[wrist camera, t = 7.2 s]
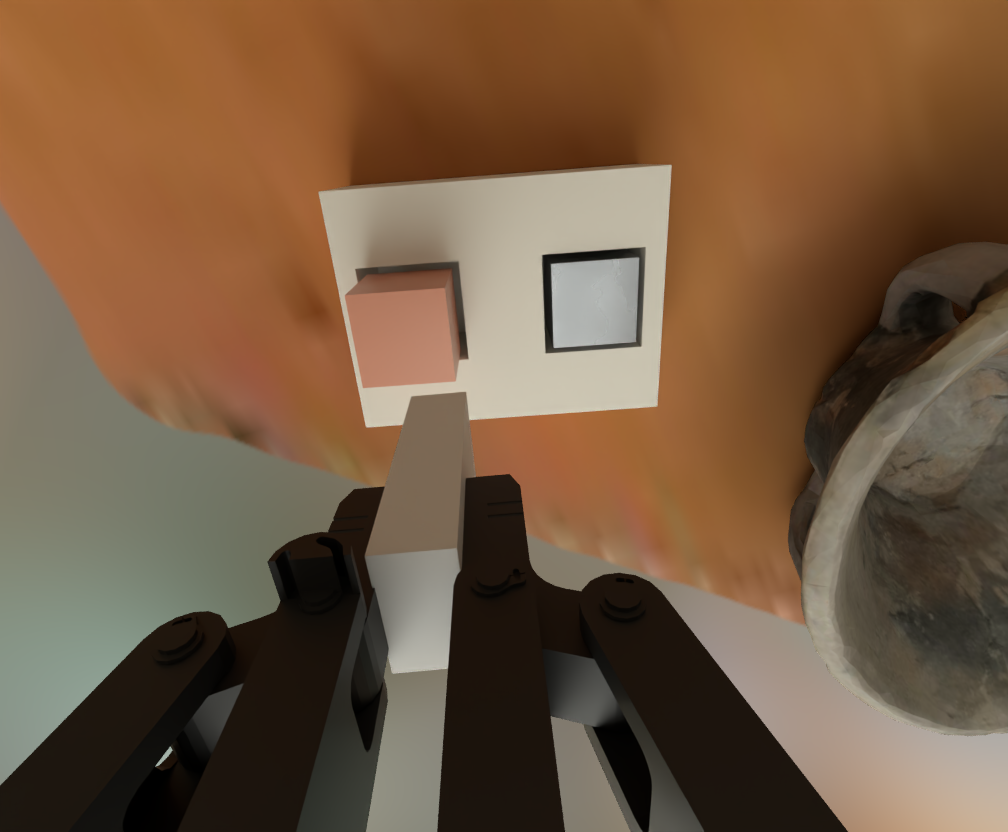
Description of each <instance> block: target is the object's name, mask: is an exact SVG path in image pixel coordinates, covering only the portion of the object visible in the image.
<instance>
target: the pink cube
mask: <svg viewBox="0 0 1008 832" xmlns="http://www.w3.org/2000/svg"><path fill="white" fill-rule="evenodd" d="M345 300H346V305H347V310H348V315H349V320H350V325H351V330H352V336H353V341H354V346H355V351H356V356H357V361H358V366H359V371H360V376H361V381H362V386H363V388H373V387H386V386H400V385H414V384H428V383H441V382H455V381H456V377H457V370H458V364H459V358H460V351H461V347H460V338H459V329H458V319H457V310H456V301H455V292H454V283H453V274H452V268H447V269H434V270H421V271H407V272H394V273H381V274H367V275H366V276H365V277H364V278H363V279H362V280H361V281H359V282H358V283H357V284H356V285H355V286H354V287H353V288H352V289H351V290H350V291H349V292H348V293H347V294H346V295H345Z"/></svg>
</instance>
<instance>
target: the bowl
mask: <svg viewBox="0 0 1008 832" xmlns="http://www.w3.org/2000/svg"><path fill="white" fill-rule="evenodd" d="M952 301H953V302H954V303H956V304H957V305H959V306H960V307H962V308H963V309H965V310H966V312H967V319H966V320H965V321H963V322H962V323H959V322H958V321H957V319H956V318H955V317H954V314H953V307H952ZM804 442H805V447H806V453H807V456H808V458H809V460H810V462H811V463H812V465H813V467H814V469H815V471H814V473H813V474H812V476H811V478H810V480H809V481H808V483H807V485H806V486H805V488H804V489H803V491H802V492H801V493H800V495H799V496H798V498H797V499H796V501H795V503H794V505H793V507H792V509H791V515H790V524H789V533H788V544H789V552H790V554H791V557H792V559H793V562H794V564H795V567H796V569H797V572H798V575H799V577H800V580H801V605H802V611H803V615H804V619H805V623H806V626H807V628H808V630H809V633H810V635H811V638H812V640H813V643H814V646H815V649H816V651H817V652H818V654H819V655H820V656H821V658H822V659H823V660H824V662H825V663H826V666H827V668H828V671H829V672H830V673H831V674H832V675H833V677H834V678H835V679H837V681H839V683H841V684H842V685H843V686H844V687H845V688H846V689H847V690H848V691H849V692H851V693H852V694H853V695H855V696H856V697H858V698H859V699H860V700H862V701H863V702H864V703H866V704H867V705H868V706H870V707H872V708H873V709H875V710H877V711H879V712H881V713H882V714H884V715H886V716H888V717H890V718H892V719H893V720H895V721H899V722H902V723H905V724H909V725H912V726H915V727H919V728H922V729H926V730H929V731H933V732H937V733H941V734H944V735H964V736H976V735H987V734H991V733H1008V245H1007V244H999V243H992V242H972V243H958V244H955V245H952V246H949V247H946V248H944V249H941V250H938V251H935V252H932V253H929V254H926V255H923V256H921V257H919V258H917V259H915V260H914V261H912V262H910V263H908V264H907V265H905V266H903V268H902V269H901V270H900V272H899V273H898V274H897V275H896V277H895V278H894V279H893V281H892V283H891V284H890V286H889V288H888V289H887V293H886V298H885V302H884V306H883V311H882V314H881V317H880V320H879V323H878V326H877V327H876V328H875V329H874V330H873V331H872V332H871V333H870V334H869V335H868V336H867V337H866V338H865V339H864V340H863V341H862V343H861V344H860V345H859V346H858V347H857V349H856V350H855V352H854V354H853V355H852V356H851V357H850V358H849V359H848V360H847V361H846V362H845V363H844V364H843V365H842V366H841V367H840V368H839V369H838V370H837V371H836V372H835V373H834V374H833V375H832V377H831V378H830V379H829V380H828V382H827V383H826V385H825V386H824V388H823V392H822V396H821V399H820V400H819V401H818V402H816V404H815V406H814V408H813V410H812V412H811V414H810V417H809V419H808V422H807V425H806V430H805V438H804Z"/></svg>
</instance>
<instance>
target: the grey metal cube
mask: <svg viewBox="0 0 1008 832" xmlns="http://www.w3.org/2000/svg"><path fill="white" fill-rule="evenodd" d="M543 269H544V296H545V323H546V327H547V330H548V333H549V336H550V339H551V342H552V345H553V348H562V347H575V346H589V345H603V344H616V343H630V342H636V328H637V302H638V276H639V257H638V256H636V255H635V254H633V253H632V252H630V251H629V250H627V249H626V248H625V249H612V250H598V251H585V252H572V253H558V254H545V255H543Z"/></svg>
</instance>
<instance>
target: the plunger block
mask: <svg viewBox="0 0 1008 832" xmlns="http://www.w3.org/2000/svg"><path fill="white" fill-rule="evenodd" d="M671 168H672V165H662V164H629V165H616V166H603V167H590V168H577V169H564V170H551V171H538V172H525V173H512V174H499V175H486V176H472V177H459V178H446V179H433V180H420V181H407V182H394V183H381V184H368V185H355V186H346V187H341V188H336V189H331V190H325V191H320V192H319V197H320V202H321V207H322V211H323V216H324V221H325V226H326V231H327V236H328V241H329V246H330V251H331V256H332V261H333V266H334V271H335V276H336V281H337V286H338V291H339V296H340V300H341V305H342V310H343V315H344V320H345V325H346V330H347V335H348V340H349V345H350V350H351V355H352V360H353V365H354V370H355V375H356V380H357V385H358V390H359V394H360V399H361V404H362V409H363V414H364V419H365V424H366V427H379V426H393V425H403V423H404V420H405V416H406V413H407V409H408V406H409V402H410V399H411V396H421V395H433V394H444V393H456V392H466V395H467V404H468V412H469V420H476V419H490V418H504V417H518V416H532V415H546V414H559V413H573V412H587V411H601V410H615V409H629V408H643V407H657V401H658V385H659V368H660V351H661V335H662V318H663V301H664V285H665V268H666V251H667V235H668V218H669V201H670V185H671ZM625 248H626V249H627V250H629V251H630V252H632V253H633V254H635V255H636V256H638V257H639V276H638V302H637V328H636V342H630V343H616V344H603V345H589V346H575V347H562V348H553V345H552V342H551V339H550V336H549V333H548V330H547V327H546V323H545V296H544V269H543V255H545V254H558V253H572V252H585V251H598V250H612V249H625ZM447 268H452V274H453V283H454V292H455V301H456V310H457V319H458V329H459V338H460V347H461V351H460V358H459V364H458V370H457V377H456V381H455V382H441V383H428V384H414V385H400V386H386V387H373V388H363V386H362V381H361V376H360V371H359V366H358V361H357V356H356V351H355V346H354V341H353V336H352V330H351V325H350V320H349V315H348V310H347V305H346V300H345V295H346V294H347V293H348V292H349V291H350V290H351V289H352V288H353V287H354V286H355V285H356V284H357V283H358V282H359V281H361V280H362V279H363V278H364V277H365V276H366V275H367V274H381V273H394V272H407V271H421V270H434V269H447Z"/></svg>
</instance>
